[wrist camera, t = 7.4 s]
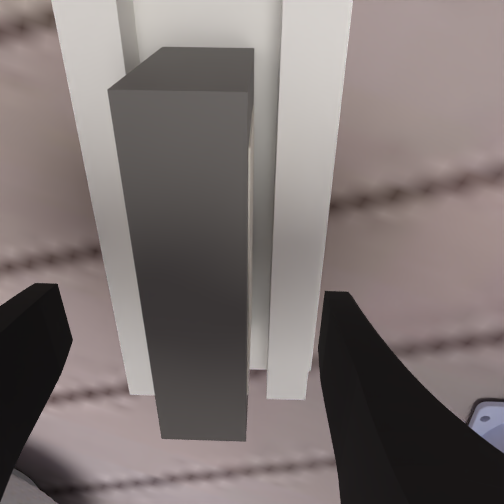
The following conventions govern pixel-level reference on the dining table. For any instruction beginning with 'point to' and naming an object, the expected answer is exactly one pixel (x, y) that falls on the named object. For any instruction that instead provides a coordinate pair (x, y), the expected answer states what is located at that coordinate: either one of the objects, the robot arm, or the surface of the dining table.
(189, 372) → the grey rectangular block
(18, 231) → the dining table surface
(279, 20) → the ledge
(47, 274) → the dining table surface
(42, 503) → the cereal bowl
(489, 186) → the dining table surface
